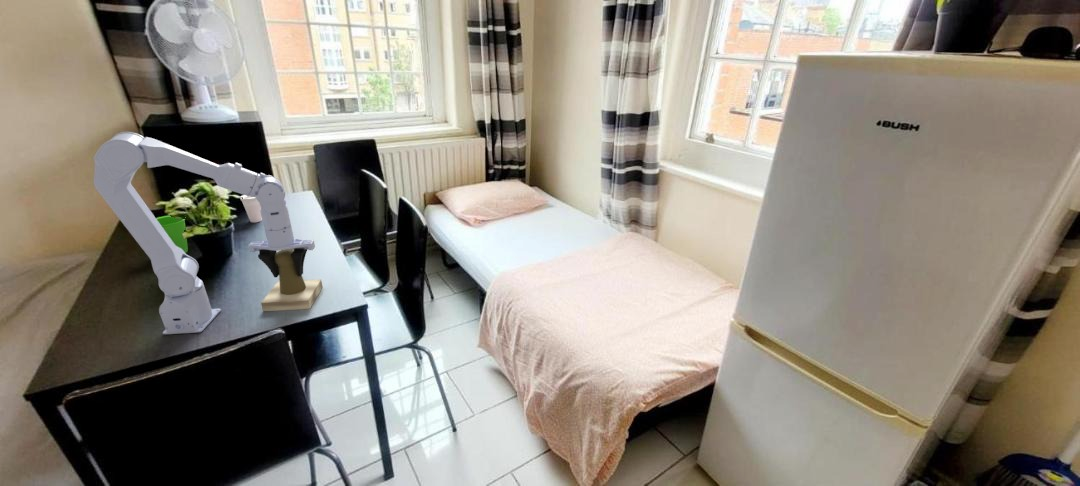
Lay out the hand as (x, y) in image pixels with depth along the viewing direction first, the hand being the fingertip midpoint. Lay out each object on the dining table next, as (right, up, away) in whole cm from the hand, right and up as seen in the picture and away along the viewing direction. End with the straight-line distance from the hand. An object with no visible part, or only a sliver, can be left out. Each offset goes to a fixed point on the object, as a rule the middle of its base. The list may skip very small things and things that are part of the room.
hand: (288, 275), depth 111 cm
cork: (0, -4, +3) cm, 5 cm away
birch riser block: (0, -6, +3) cm, 7 cm away
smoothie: (-42, +17, +51) cm, 68 cm away
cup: (-49, +5, +24) cm, 55 cm away
